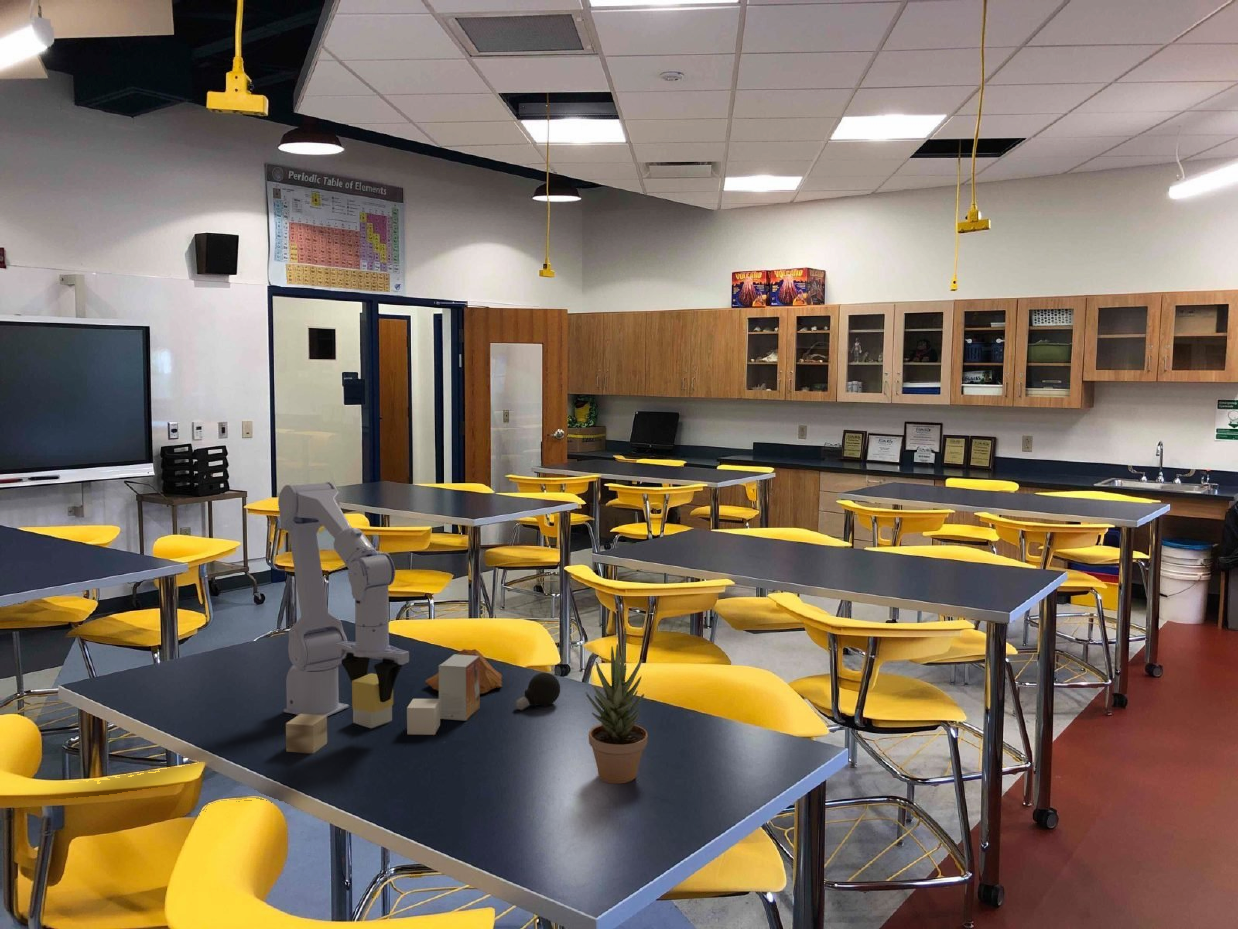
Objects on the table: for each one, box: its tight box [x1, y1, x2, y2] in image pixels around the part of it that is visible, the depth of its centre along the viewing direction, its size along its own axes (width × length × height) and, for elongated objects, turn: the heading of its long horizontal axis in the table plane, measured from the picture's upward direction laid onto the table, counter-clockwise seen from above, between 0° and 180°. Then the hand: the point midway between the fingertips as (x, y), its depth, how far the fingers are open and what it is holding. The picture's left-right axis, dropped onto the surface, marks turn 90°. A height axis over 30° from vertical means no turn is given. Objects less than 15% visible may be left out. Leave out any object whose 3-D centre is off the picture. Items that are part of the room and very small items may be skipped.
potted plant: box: [585, 627, 649, 784], centre depth 154 cm, size 10×10×25 cm
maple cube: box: [285, 714, 328, 754], centre depth 166 cm, size 5×5×5 cm
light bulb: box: [514, 672, 561, 711], centre depth 188 cm, size 6×6×10 cm
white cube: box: [406, 698, 441, 736], centre depth 175 cm, size 5×5×5 cm
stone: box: [425, 648, 504, 695], centre depth 199 cm, size 15×15×10 cm
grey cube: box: [352, 705, 393, 729], centre depth 178 cm, size 5×5×5 cm
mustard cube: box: [351, 672, 394, 713], centre depth 169 cm, size 5×5×5 cm
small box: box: [438, 653, 481, 721], centre depth 183 cm, size 8×6×10 cm
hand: (372, 698), depth 169 cm, fingers closed on mustard cube, 5 cm apart
